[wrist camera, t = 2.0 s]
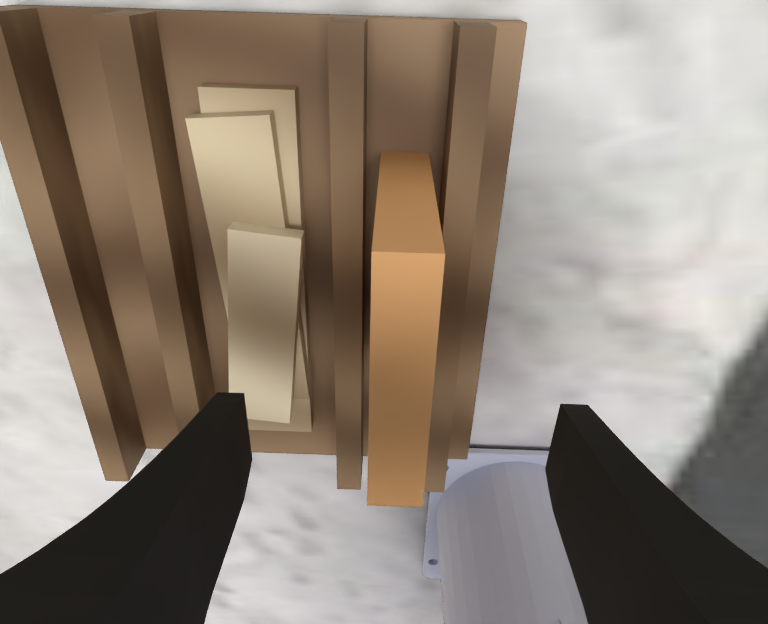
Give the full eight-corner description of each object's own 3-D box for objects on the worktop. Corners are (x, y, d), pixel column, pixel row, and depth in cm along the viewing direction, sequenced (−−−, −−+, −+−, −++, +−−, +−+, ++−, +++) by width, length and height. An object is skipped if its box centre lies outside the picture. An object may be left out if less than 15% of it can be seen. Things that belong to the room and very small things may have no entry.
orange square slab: (415, 349, 23) (422, 507, 17) (376, 348, 23) (366, 505, 17) (428, 153, 19) (445, 253, 12) (381, 151, 19) (371, 251, 12)
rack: (465, 444, 27) (471, 493, 25) (129, 432, 27) (101, 480, 25) (521, 20, 18) (541, 28, 16) (15, 4, 18) (-48, 10, 16)
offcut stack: (318, 421, 26) (312, 455, 24) (239, 418, 26) (227, 452, 24) (304, 86, 18) (294, 99, 17) (195, 82, 18) (173, 95, 17)
